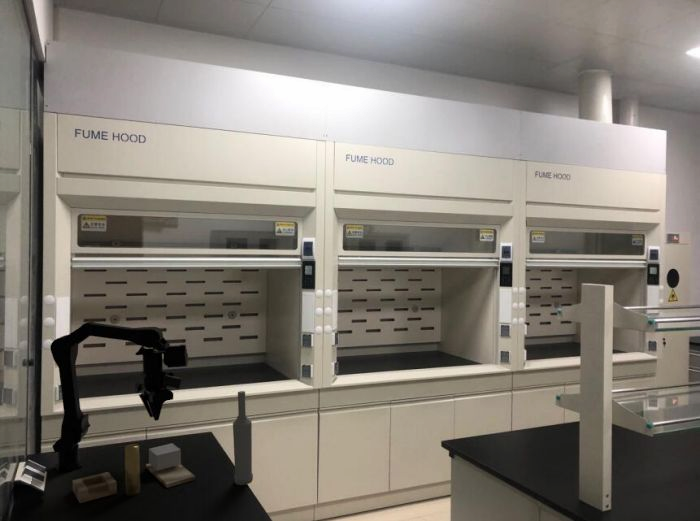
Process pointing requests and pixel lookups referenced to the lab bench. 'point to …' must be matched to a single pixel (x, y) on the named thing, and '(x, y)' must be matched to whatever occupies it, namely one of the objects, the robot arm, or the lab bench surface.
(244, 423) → the bottle
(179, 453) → the cover
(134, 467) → the brass pin
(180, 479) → the plate
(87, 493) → the socket block
